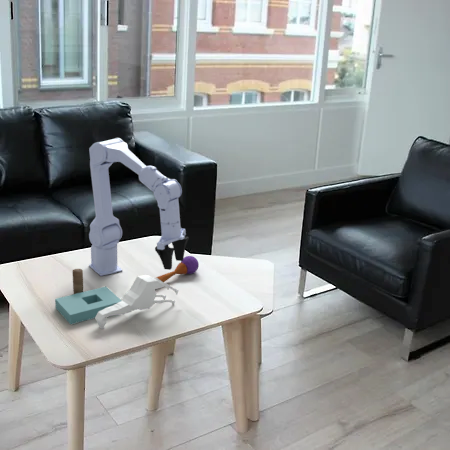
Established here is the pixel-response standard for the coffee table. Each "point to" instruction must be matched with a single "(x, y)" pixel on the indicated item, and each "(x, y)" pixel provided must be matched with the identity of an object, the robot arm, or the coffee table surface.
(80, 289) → the peg
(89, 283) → the coffee table surface
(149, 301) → the horse figurine
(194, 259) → the purple ball maraca
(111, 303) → the socket board
